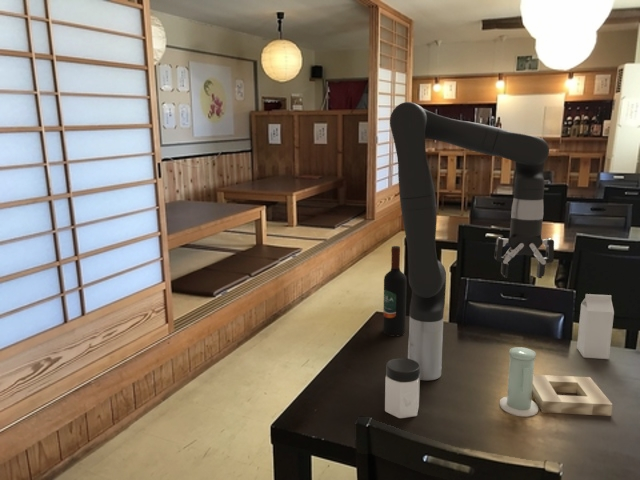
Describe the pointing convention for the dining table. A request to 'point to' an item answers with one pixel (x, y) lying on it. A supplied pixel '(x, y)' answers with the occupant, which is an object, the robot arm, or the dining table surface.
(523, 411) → the saucer
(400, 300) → the wine bottle
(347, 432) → the dining table surface
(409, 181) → the robot arm
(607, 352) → the milk carton
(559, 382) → the wooden square frame
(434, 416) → the dining table surface
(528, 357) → the mint green tumbler
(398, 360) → the jar
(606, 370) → the dining table surface
